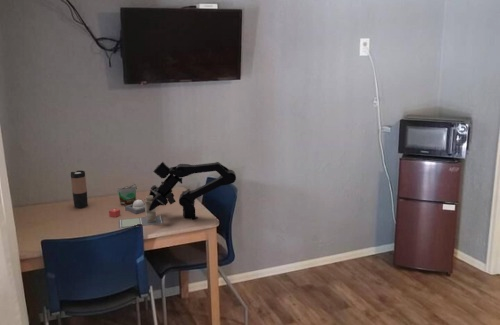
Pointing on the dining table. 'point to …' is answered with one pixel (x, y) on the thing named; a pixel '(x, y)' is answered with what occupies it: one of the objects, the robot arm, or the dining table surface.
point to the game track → (139, 222)
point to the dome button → (138, 204)
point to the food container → (127, 195)
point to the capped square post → (149, 214)
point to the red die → (114, 213)
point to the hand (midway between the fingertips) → (148, 207)
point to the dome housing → (133, 210)
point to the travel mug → (79, 189)
